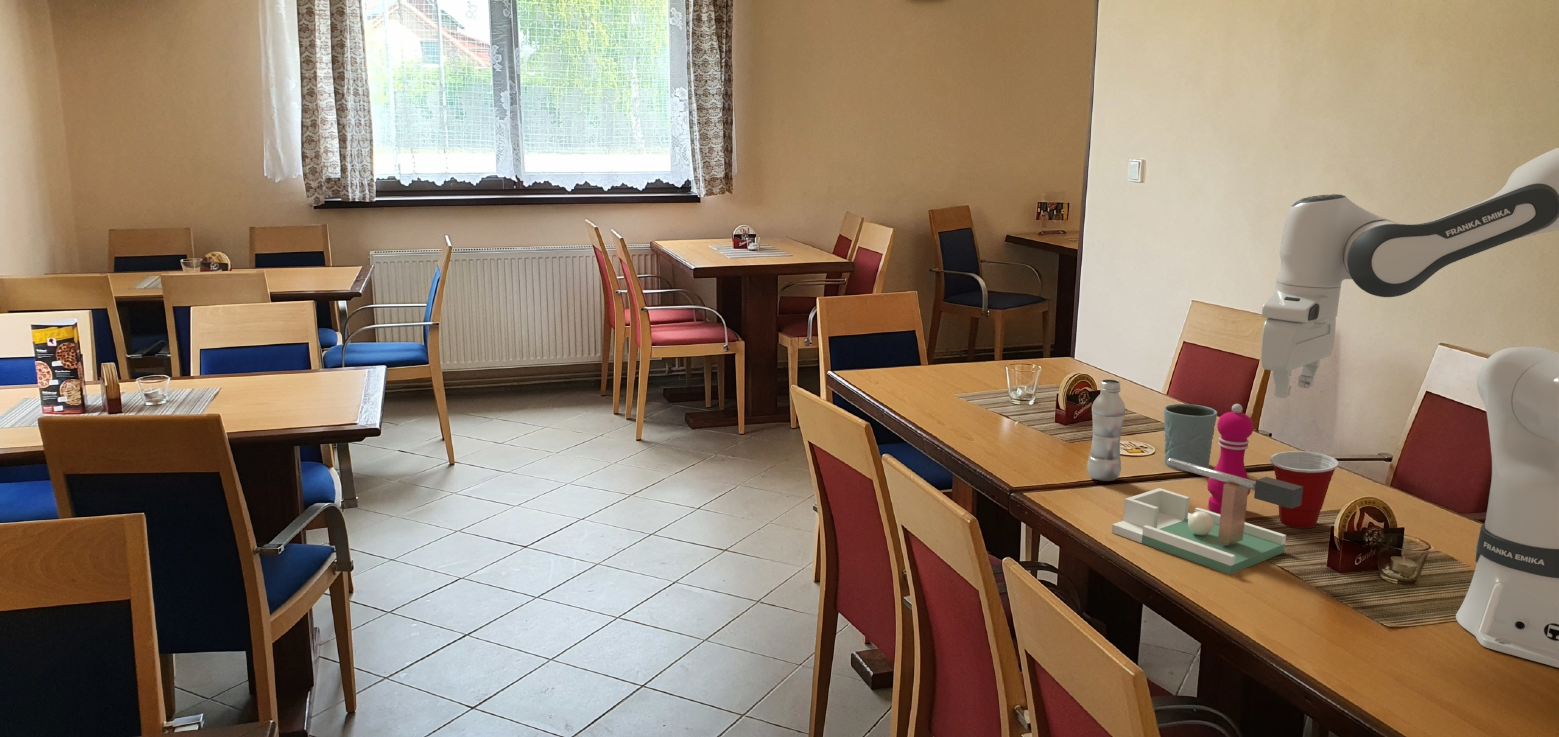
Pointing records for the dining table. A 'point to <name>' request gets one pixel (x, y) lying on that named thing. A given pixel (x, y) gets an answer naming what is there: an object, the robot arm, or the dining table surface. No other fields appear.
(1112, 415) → the plastic bottle
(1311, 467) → the plastic cup
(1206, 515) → the ball
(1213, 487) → the pepper mill
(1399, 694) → the dining table surface
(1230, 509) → the kicker rod
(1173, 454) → the grey textured cup
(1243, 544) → the pitch
